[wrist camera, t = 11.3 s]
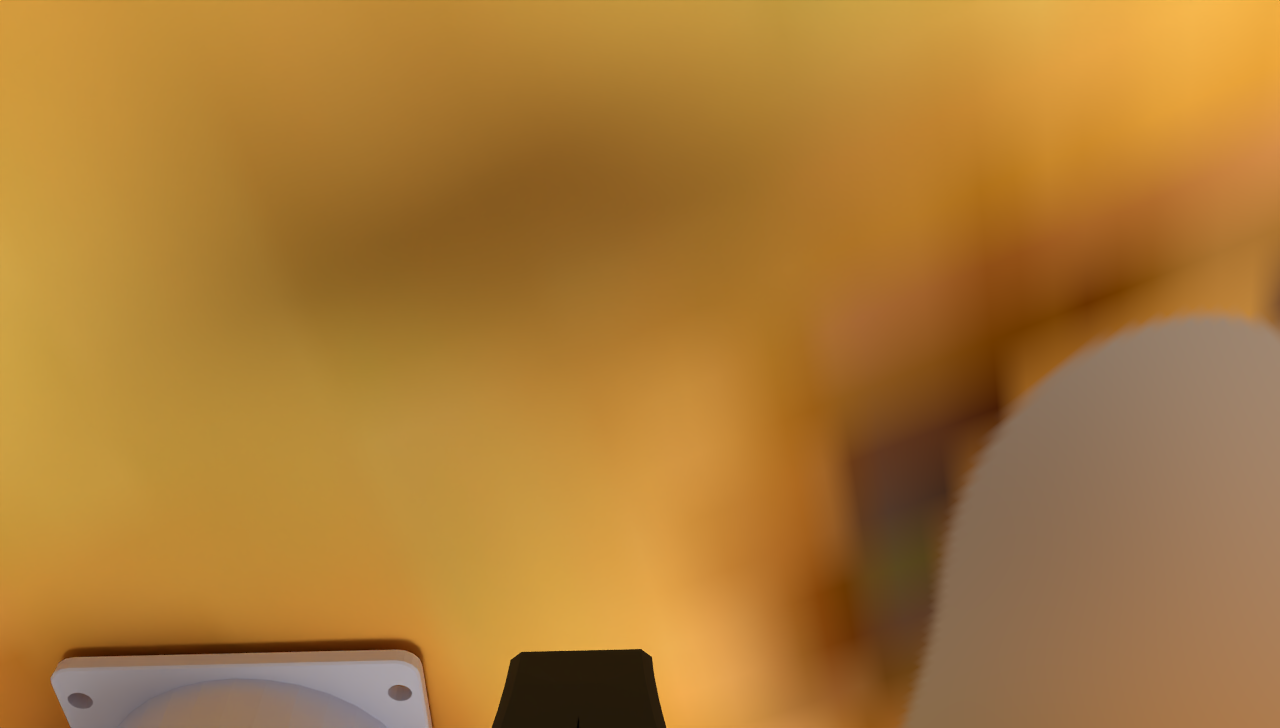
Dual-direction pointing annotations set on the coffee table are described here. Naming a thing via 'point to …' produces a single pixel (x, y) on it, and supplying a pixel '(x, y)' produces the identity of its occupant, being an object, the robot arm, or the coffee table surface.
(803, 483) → the coffee table surface
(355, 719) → the robot arm
